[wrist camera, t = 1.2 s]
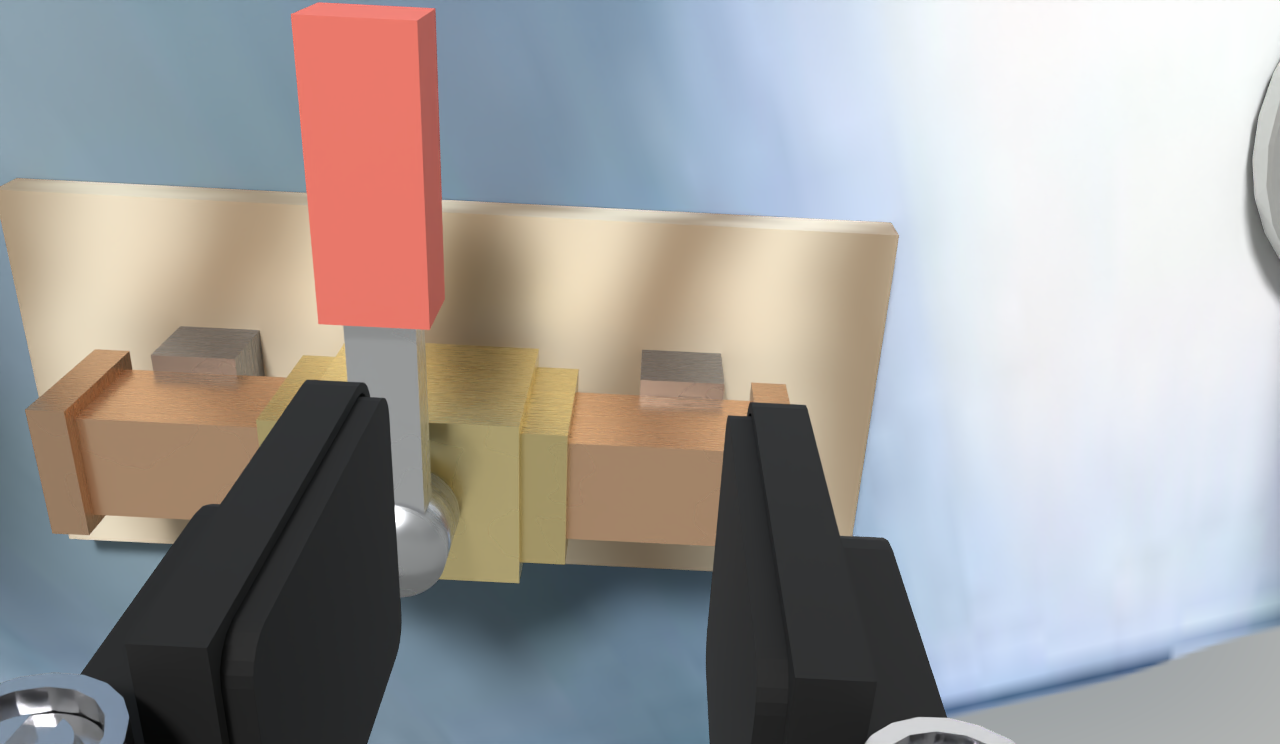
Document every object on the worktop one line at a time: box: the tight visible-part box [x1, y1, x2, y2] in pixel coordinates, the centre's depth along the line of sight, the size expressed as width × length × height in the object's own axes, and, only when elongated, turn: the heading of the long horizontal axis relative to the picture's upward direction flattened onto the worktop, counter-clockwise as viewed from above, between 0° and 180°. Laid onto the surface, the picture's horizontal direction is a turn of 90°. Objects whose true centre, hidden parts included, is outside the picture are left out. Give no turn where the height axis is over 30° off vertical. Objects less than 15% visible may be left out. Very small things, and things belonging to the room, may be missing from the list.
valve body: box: [25, 326, 790, 583], centre depth 31 cm, size 20×5×6 cm, turn 87°
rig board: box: [0, 178, 899, 571], centre depth 34 cm, size 26×12×1 cm, turn 87°
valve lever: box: [291, 3, 460, 597], centre depth 25 cm, size 14×3×2 cm, turn 177°
